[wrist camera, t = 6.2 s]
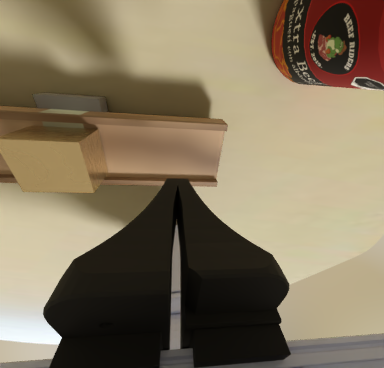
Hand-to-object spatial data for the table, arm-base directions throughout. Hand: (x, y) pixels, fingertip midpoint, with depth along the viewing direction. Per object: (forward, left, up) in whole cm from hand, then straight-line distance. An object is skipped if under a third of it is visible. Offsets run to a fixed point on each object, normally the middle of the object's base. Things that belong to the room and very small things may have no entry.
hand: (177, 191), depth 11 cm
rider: (0, +9, -6) cm, 11 cm away
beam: (0, +9, -9) cm, 12 cm away
